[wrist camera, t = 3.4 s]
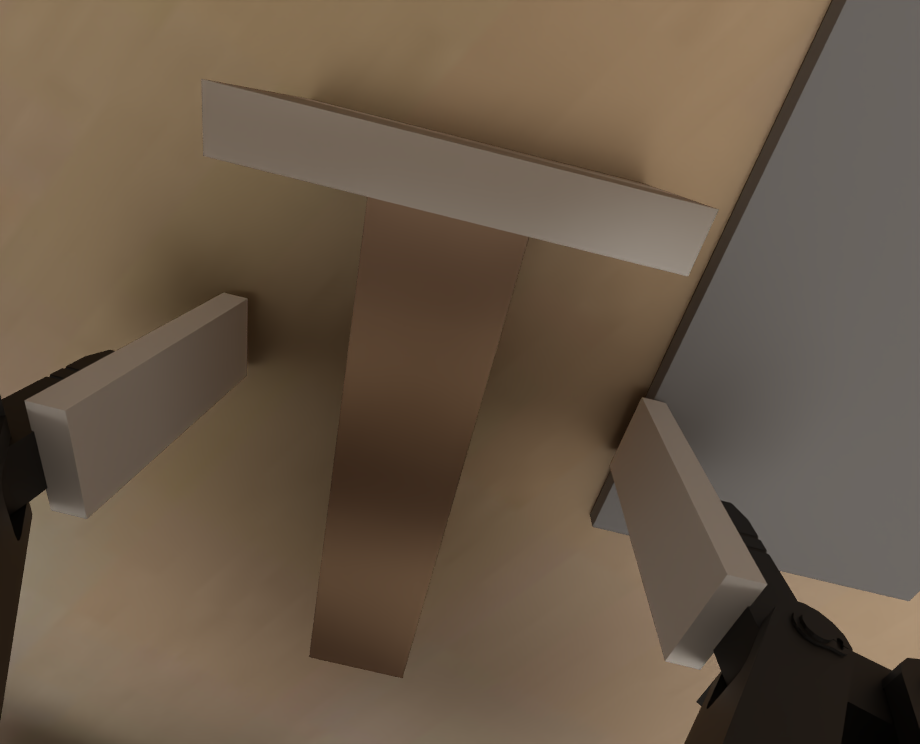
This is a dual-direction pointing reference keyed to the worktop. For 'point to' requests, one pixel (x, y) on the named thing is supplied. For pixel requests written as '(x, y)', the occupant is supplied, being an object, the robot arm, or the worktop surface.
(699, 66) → the worktop surface
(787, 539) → the mat
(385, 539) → the scraper
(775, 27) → the worktop surface
